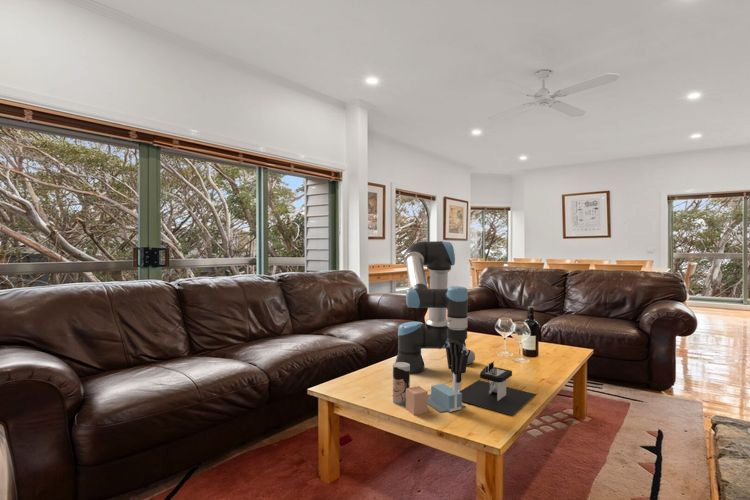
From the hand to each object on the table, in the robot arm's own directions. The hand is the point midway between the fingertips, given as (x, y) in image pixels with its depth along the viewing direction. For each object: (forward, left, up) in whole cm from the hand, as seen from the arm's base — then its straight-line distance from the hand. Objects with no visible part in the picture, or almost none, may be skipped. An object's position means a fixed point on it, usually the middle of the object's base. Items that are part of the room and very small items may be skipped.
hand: (456, 390), depth 152 cm
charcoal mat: (-10, 0, -8) cm, 13 cm away
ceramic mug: (-48, +40, -9) cm, 63 cm away
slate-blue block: (0, 0, -5) cm, 5 cm away
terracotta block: (-7, -13, -9) cm, 17 cm away
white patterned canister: (-17, -14, -9) cm, 24 cm away
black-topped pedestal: (-6, +23, -8) cm, 26 cm away
